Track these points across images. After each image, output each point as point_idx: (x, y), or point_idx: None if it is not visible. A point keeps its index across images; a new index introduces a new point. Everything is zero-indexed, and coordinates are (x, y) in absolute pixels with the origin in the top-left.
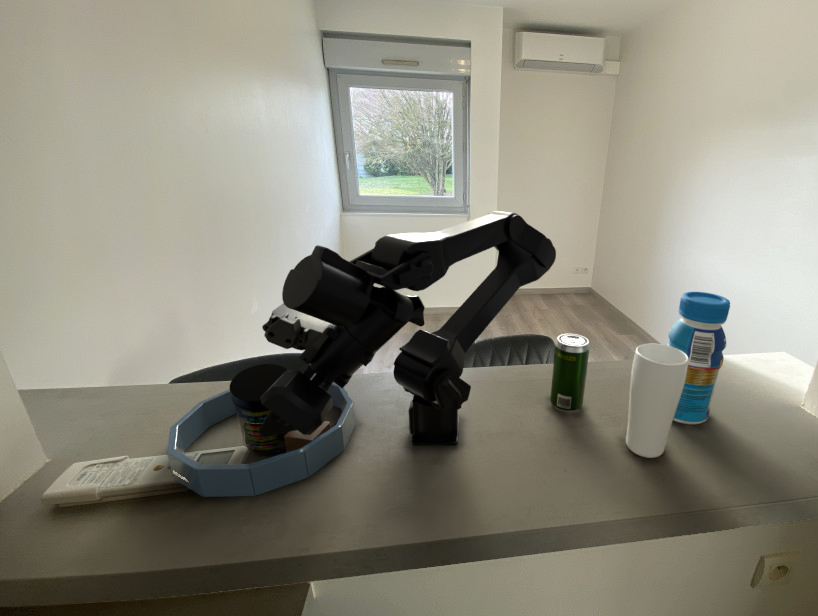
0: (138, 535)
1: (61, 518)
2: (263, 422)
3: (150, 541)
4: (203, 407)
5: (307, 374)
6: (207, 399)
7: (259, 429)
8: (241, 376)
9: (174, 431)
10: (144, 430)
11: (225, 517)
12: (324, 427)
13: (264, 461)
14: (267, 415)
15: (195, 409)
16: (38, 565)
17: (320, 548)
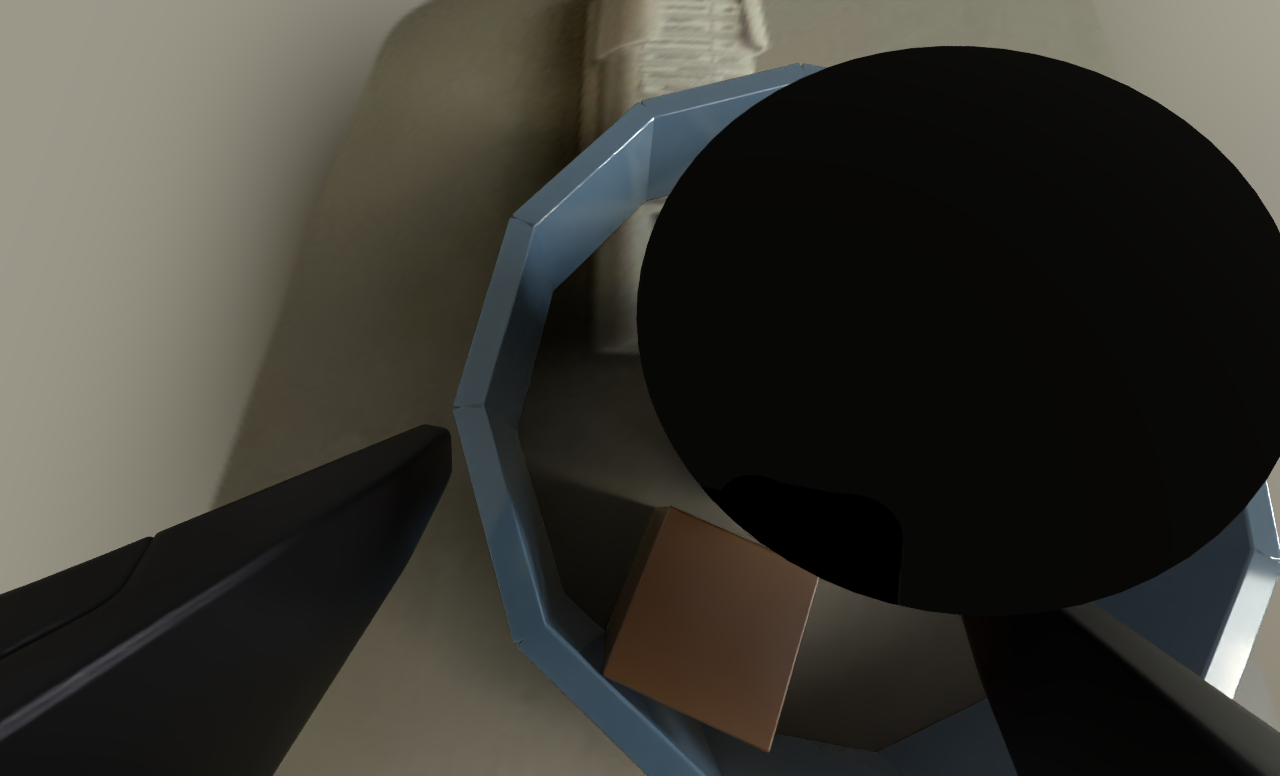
0: (429, 184)
1: (546, 20)
2: (286, 482)
3: (396, 217)
4: None
5: (1178, 770)
6: None
7: (388, 438)
8: (993, 98)
9: (771, 81)
10: (883, 42)
11: (422, 371)
12: (715, 726)
13: (483, 461)
14: (97, 557)
15: None
16: (405, 43)
17: None
